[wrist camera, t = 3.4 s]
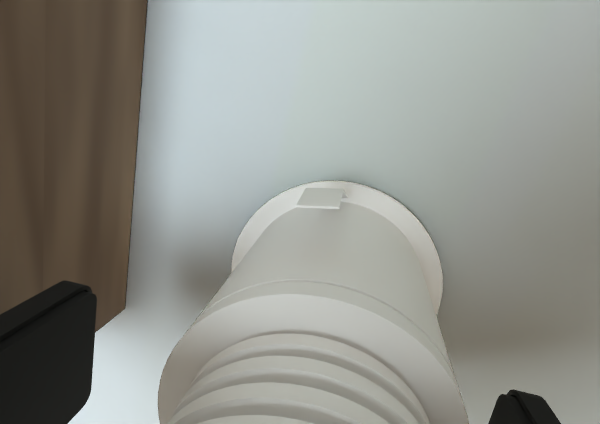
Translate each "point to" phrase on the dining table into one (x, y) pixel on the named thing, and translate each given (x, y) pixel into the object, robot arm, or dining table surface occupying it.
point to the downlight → (320, 321)
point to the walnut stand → (68, 146)
